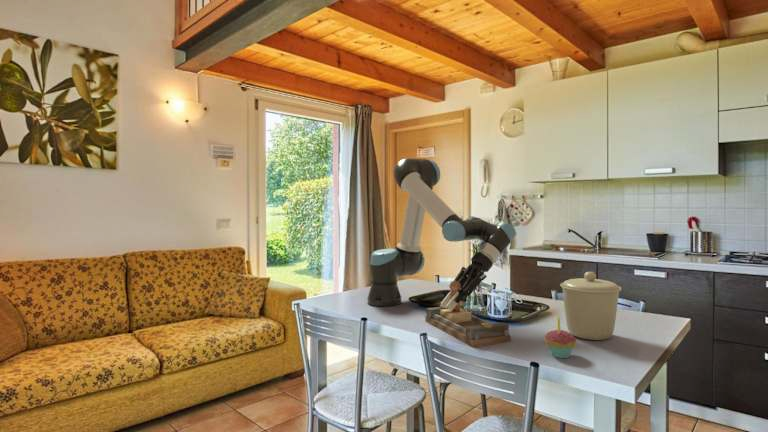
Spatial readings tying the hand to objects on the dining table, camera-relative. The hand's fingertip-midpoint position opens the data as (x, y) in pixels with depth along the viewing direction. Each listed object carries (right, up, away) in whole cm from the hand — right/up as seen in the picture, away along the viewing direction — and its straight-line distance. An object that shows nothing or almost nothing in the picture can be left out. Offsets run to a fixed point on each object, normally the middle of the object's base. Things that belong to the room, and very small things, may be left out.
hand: (446, 307), depth 155 cm
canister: (+46, -7, -12) cm, 48 cm away
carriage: (+4, -5, +2) cm, 6 cm away
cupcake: (+29, -8, -29) cm, 42 cm away
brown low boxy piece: (+6, -7, -4) cm, 10 cm away
